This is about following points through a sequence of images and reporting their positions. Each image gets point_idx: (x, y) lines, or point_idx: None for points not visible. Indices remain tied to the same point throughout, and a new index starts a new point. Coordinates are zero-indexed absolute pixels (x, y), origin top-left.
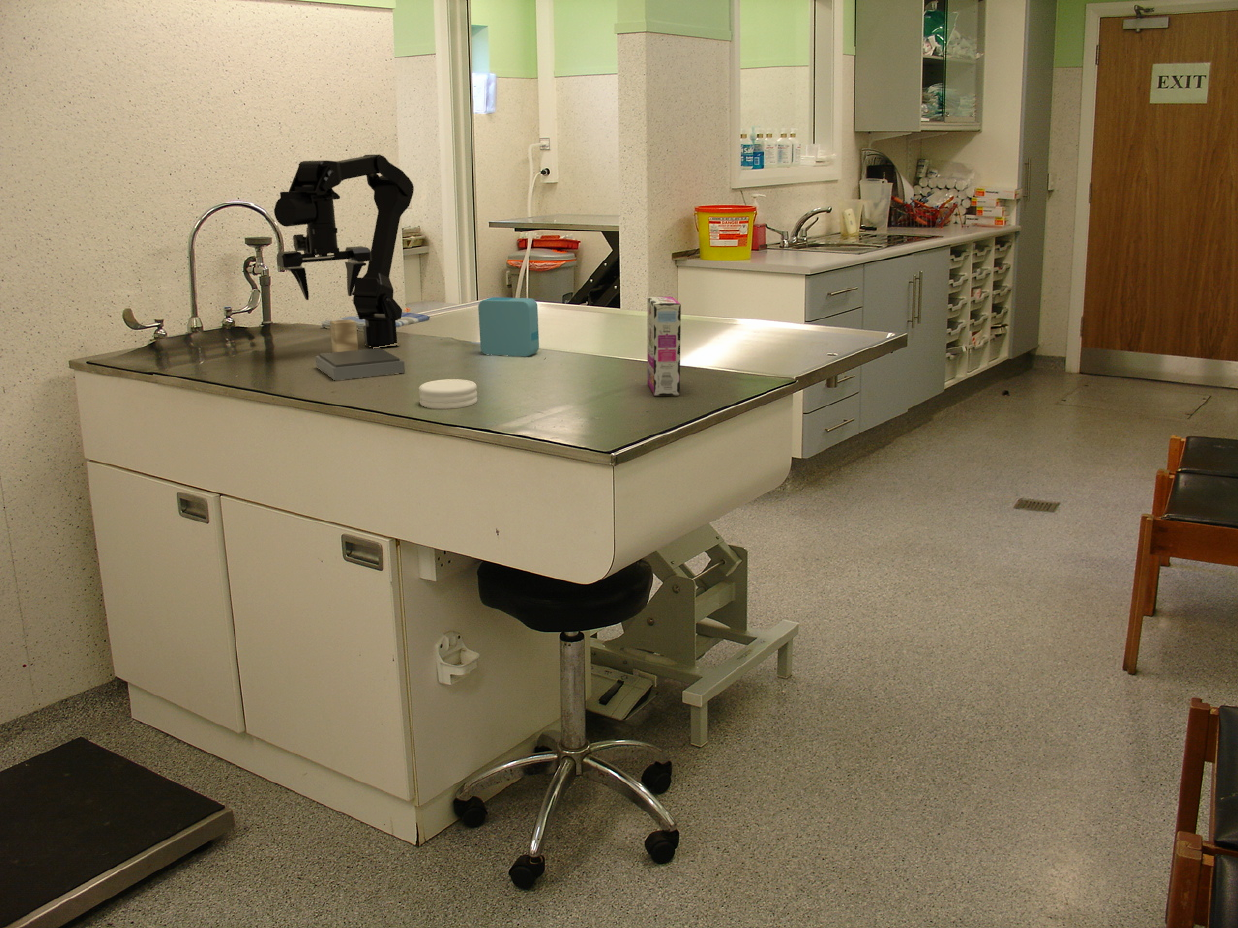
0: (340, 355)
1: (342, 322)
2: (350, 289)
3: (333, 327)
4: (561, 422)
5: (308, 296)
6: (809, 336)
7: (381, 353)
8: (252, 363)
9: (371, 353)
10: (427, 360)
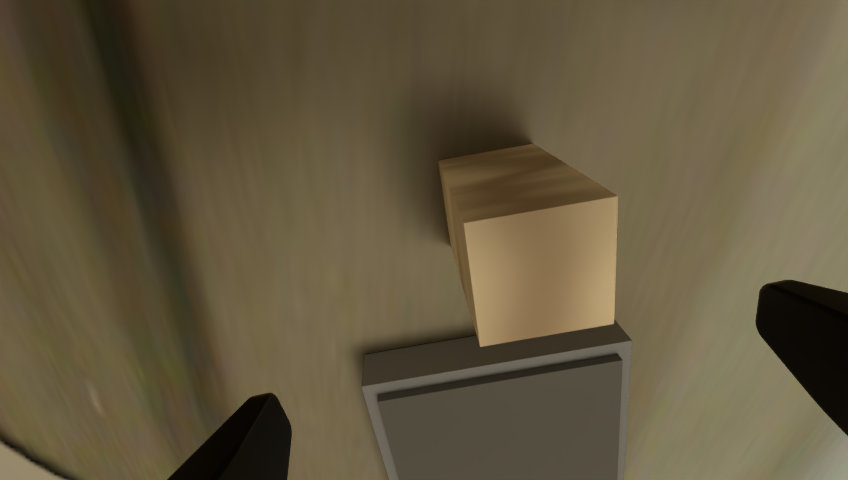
0: (452, 452)
1: (534, 318)
2: (833, 414)
3: (470, 295)
4: None
5: (286, 477)
6: None
7: (592, 458)
8: (64, 162)
9: (561, 449)
10: (744, 344)
